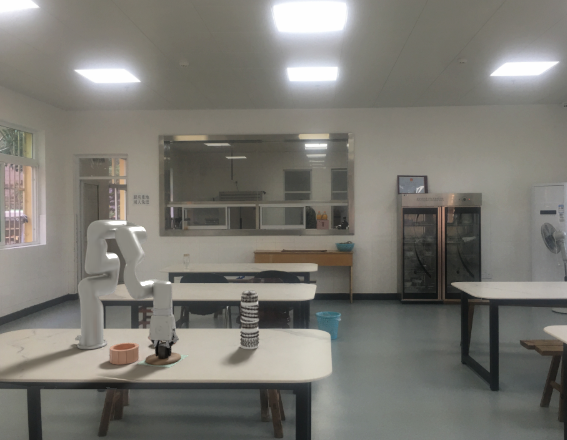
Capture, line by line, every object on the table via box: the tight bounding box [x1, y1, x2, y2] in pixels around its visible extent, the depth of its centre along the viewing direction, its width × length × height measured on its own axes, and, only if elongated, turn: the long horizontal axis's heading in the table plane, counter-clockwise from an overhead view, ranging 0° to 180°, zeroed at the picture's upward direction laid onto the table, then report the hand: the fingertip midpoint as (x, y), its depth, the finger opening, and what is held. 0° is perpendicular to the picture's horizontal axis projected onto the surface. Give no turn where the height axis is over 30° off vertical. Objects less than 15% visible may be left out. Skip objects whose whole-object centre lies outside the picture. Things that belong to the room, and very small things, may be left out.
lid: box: [145, 343, 182, 365], centre depth 177 cm, size 14×14×6 cm
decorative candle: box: [238, 290, 260, 350], centre depth 195 cm, size 9×9×25 cm
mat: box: [136, 354, 189, 368], centre depth 177 cm, size 15×15×1 cm
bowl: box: [109, 342, 140, 366], centre depth 176 cm, size 11×11×6 cm
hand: (163, 355), depth 177 cm, fingers closed on lid, 4 cm apart
